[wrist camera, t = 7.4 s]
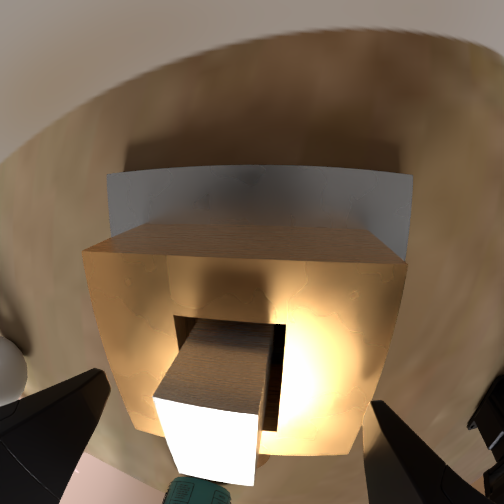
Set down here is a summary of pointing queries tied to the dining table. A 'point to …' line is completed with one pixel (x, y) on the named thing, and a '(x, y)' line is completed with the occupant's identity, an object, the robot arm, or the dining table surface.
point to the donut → (11, 372)
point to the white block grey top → (218, 399)
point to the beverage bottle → (195, 492)
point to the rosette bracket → (257, 285)
